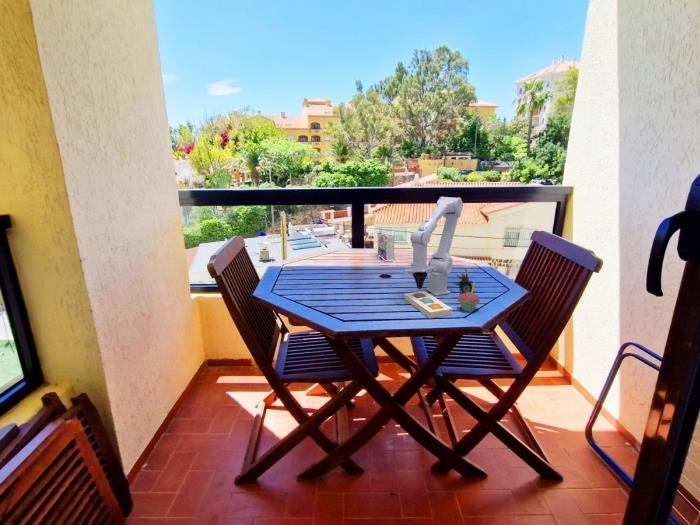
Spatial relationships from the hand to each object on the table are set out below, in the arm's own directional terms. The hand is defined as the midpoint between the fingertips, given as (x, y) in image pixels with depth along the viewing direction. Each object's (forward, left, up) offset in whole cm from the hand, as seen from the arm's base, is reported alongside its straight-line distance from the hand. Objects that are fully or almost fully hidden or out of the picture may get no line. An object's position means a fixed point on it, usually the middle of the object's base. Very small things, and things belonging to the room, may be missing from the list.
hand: (419, 288), depth 171 cm
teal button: (+7, 0, -6) cm, 9 cm away
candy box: (-73, +15, -6) cm, 75 cm away
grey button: (0, 0, -6) cm, 6 cm away
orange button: (+14, 0, -5) cm, 15 cm away
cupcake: (+16, +14, -6) cm, 22 cm away
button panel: (+7, 0, -6) cm, 9 cm away
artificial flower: (-7, +28, -6) cm, 29 cm away
